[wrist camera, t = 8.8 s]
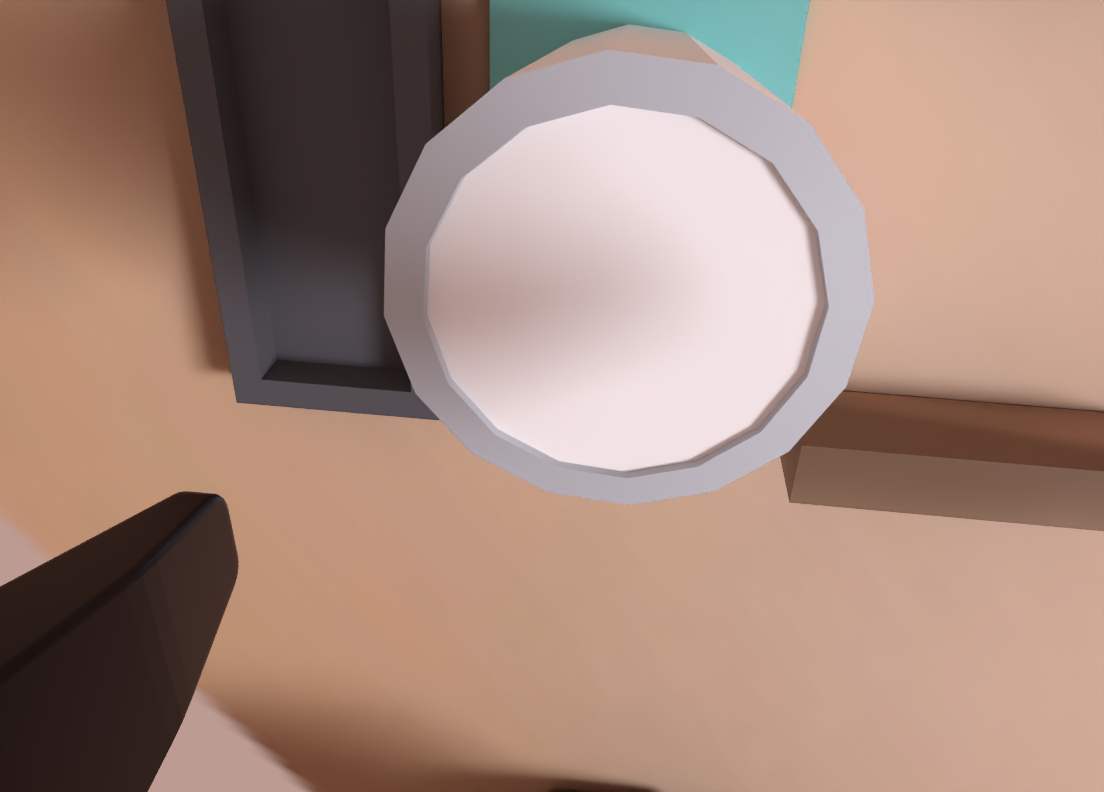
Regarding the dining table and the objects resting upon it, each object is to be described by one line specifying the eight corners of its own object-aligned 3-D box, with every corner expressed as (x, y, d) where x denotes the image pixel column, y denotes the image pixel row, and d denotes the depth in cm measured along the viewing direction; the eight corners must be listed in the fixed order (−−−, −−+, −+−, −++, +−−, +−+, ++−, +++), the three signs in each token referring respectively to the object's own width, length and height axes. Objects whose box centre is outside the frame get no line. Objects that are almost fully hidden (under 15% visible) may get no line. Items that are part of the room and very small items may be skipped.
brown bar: (1120, 469, 21) (1172, 537, 19) (777, 440, 21) (789, 502, 19) (1413, -192, 14) (1549, -206, 12) (903, -208, 15) (944, -223, 13)
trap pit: (452, 394, 22) (441, 420, 21) (256, 378, 22) (236, 402, 21) (435, -187, 16) (419, -192, 15) (164, -196, 16) (130, -201, 15)
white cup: (406, 181, 19) (287, 321, 13) (624, -99, 16) (601, -84, 10) (640, 375, 21) (631, 578, 15) (877, 157, 18) (989, 302, 12)
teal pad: (738, 419, 21) (738, 423, 21) (492, 398, 22) (491, 402, 21) (836, -174, 15) (838, -174, 15) (490, -186, 16) (489, -186, 15)
